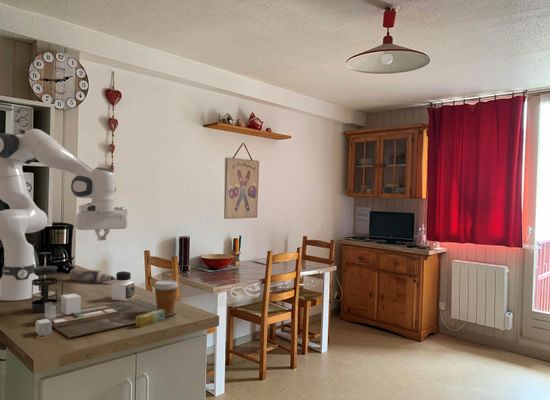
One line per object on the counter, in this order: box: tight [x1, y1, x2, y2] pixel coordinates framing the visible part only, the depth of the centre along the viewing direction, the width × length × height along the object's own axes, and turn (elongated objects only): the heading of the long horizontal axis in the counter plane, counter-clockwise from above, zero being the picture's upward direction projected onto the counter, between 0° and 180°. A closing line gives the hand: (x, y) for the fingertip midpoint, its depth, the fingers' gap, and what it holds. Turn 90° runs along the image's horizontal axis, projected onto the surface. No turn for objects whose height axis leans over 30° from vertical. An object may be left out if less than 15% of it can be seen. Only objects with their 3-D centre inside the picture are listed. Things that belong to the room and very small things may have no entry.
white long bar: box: [44, 302, 107, 320], centre depth 157 cm, size 6×21×5 cm, turn 135°
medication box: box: [135, 309, 166, 328], centre depth 152 cm, size 12×3×4 cm, turn 148°
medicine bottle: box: [110, 270, 135, 302], centre depth 185 cm, size 7×7×12 cm
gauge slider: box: [60, 293, 82, 317], centre depth 154 cm, size 10×5×6 cm, turn 45°
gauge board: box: [42, 304, 120, 329], centre depth 157 cm, size 13×23×2 cm, turn 135°
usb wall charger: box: [34, 318, 53, 337], centre depth 138 cm, size 4×7×4 cm, turn 41°
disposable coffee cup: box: [153, 279, 179, 315], centre depth 167 cm, size 10×10×12 cm
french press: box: [30, 251, 64, 314], centre depth 165 cm, size 12×9×23 cm
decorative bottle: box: [68, 267, 116, 284], centre depth 216 cm, size 26×8×7 cm, turn 74°
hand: (101, 240), depth 171 cm, fingers closed
